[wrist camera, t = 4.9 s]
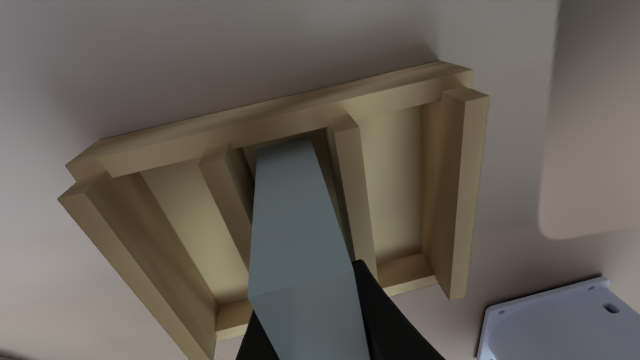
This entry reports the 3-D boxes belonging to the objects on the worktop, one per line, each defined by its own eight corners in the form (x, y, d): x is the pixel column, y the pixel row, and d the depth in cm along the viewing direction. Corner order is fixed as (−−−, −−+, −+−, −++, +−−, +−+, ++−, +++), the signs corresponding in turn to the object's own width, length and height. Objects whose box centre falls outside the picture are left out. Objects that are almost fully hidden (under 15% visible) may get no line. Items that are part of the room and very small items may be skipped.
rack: (440, 60, 12) (501, 77, 9) (434, 250, 17) (470, 301, 14) (99, 139, 11) (34, 187, 8) (207, 309, 17) (194, 374, 14)
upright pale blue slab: (310, 137, 12) (353, 270, 6) (338, 267, 16) (380, 420, 10) (257, 149, 12) (247, 297, 6) (300, 276, 16) (320, 436, 10)
